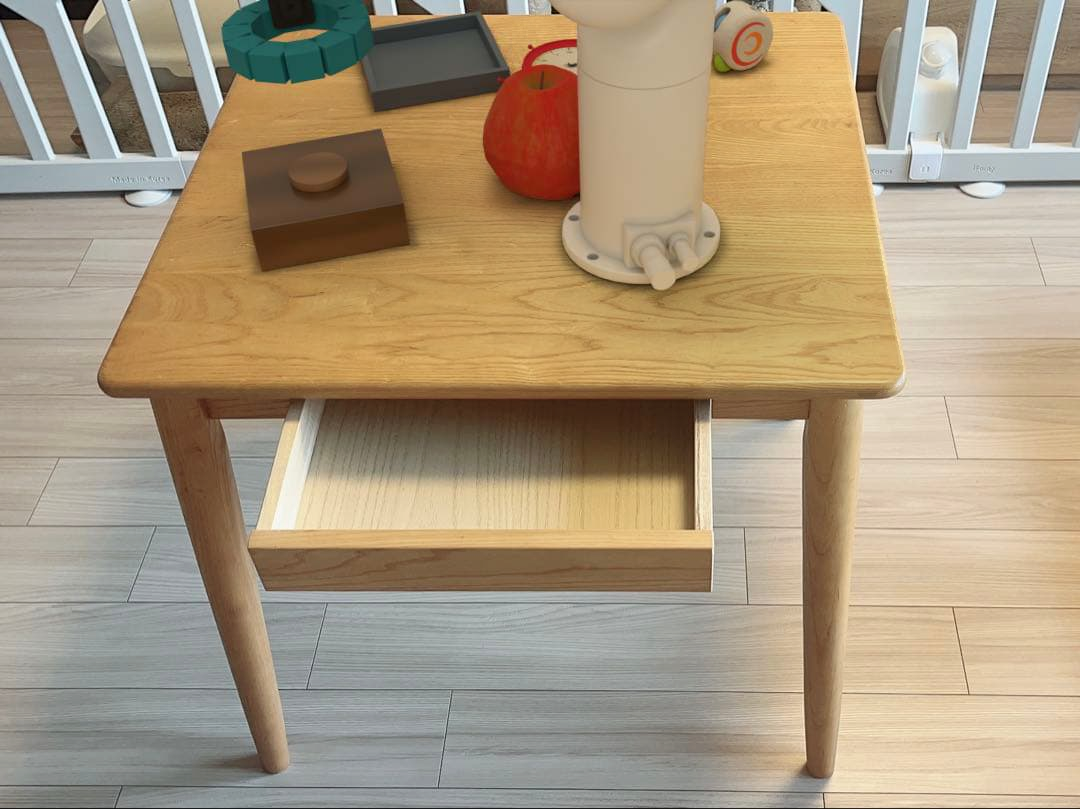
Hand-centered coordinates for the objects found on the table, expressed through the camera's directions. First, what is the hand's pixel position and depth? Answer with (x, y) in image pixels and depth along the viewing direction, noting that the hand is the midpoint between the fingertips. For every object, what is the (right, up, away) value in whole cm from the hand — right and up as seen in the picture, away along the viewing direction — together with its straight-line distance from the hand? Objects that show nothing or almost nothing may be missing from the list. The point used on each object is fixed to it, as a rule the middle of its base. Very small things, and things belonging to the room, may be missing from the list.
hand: (292, 14), depth 87 cm
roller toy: (+39, +3, +24) cm, 45 cm away
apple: (+20, -11, +10) cm, 25 cm away
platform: (+1, -14, +8) cm, 16 cm away
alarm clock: (+24, -2, +19) cm, 31 cm away
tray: (+8, +3, +26) cm, 27 cm away
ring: (+1, -3, -2) cm, 4 cm away
